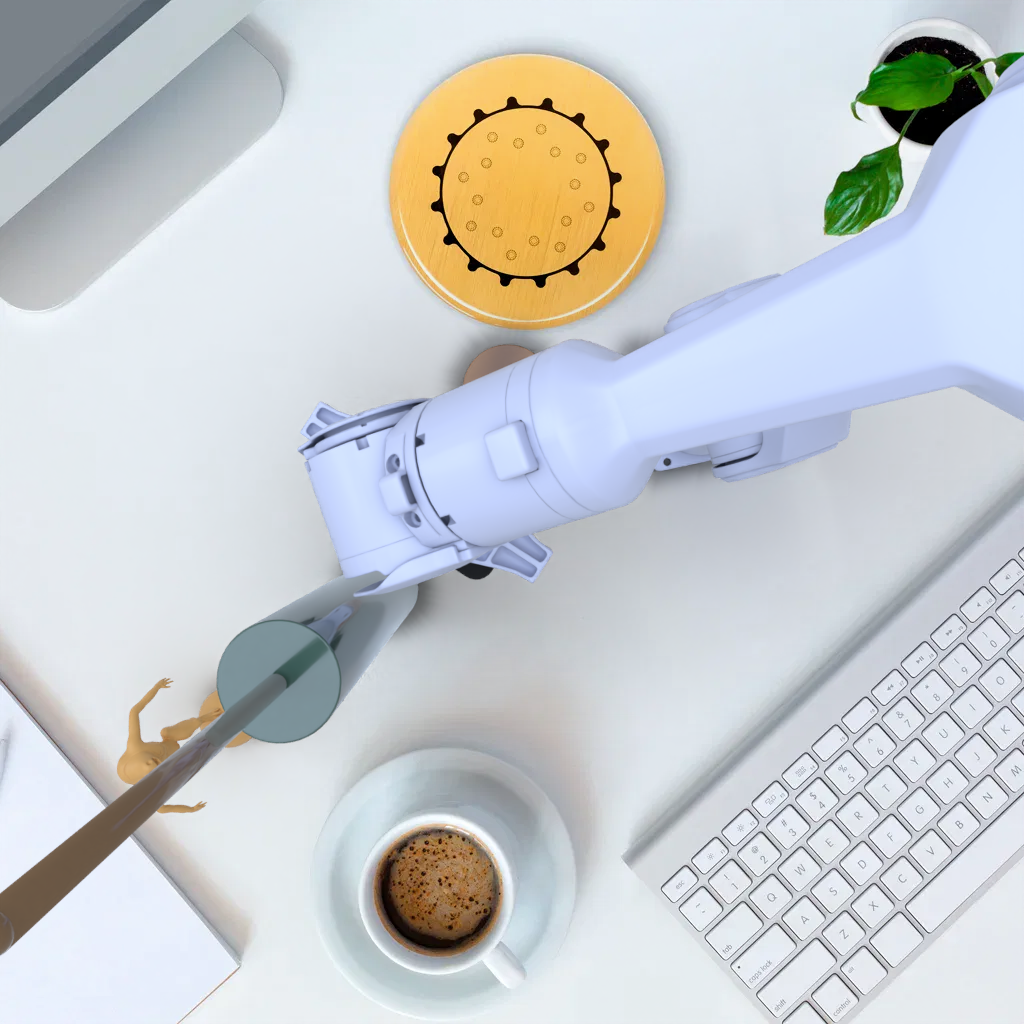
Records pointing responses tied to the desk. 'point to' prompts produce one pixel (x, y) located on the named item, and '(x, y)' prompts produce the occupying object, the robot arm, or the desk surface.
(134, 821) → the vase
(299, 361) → the desk surface
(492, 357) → the coaster
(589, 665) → the desk surface
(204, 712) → the figurine
